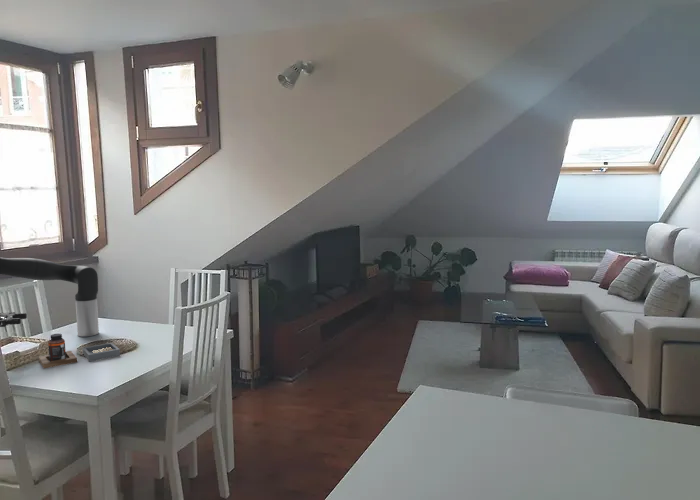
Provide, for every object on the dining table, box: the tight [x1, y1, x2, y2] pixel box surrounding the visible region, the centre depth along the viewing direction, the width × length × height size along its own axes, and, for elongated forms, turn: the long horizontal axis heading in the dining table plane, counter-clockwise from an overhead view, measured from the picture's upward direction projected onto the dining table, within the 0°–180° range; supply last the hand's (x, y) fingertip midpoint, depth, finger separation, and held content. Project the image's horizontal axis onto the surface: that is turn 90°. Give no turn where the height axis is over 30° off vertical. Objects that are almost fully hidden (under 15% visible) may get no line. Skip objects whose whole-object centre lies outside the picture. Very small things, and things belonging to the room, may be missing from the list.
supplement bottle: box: [47, 333, 67, 361], centre depth 214 cm, size 6×6×11 cm
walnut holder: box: [38, 350, 78, 369], centre depth 214 cm, size 12×12×2 cm
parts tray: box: [81, 342, 121, 362], centre depth 223 cm, size 12×12×3 cm
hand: (23, 318), depth 209 cm, fingers open, 8 cm apart
